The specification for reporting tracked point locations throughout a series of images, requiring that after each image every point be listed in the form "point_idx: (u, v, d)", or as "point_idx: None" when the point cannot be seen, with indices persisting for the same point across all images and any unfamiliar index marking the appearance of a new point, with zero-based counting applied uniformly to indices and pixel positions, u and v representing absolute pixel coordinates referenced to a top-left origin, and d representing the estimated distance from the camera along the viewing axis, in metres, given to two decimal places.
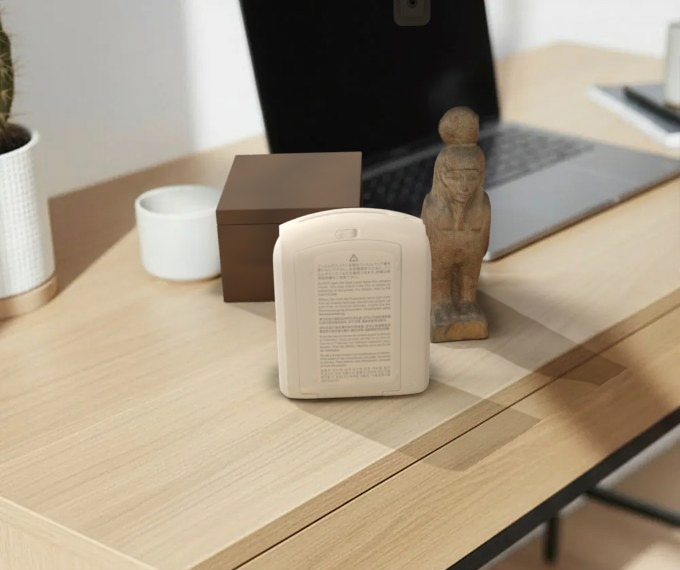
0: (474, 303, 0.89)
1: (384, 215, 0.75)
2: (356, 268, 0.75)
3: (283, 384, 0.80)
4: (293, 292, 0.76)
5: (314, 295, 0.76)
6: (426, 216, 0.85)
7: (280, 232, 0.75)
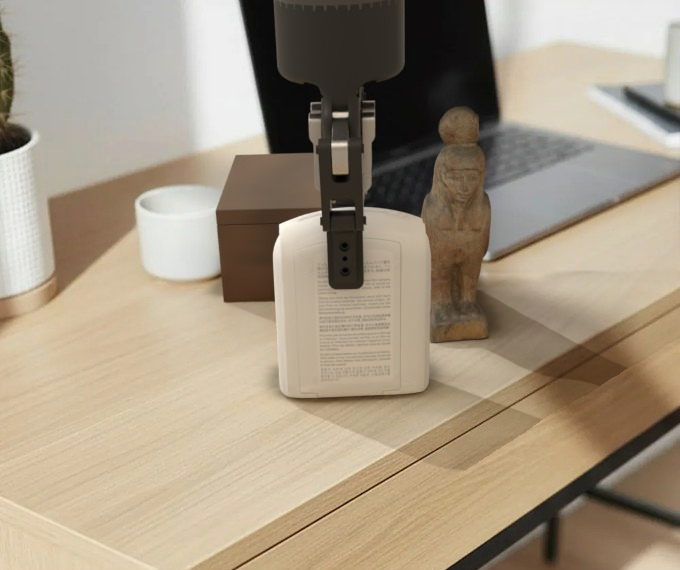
0: (474, 303, 0.89)
1: (384, 214, 0.75)
2: None
3: (283, 383, 0.80)
4: (293, 290, 0.76)
5: (314, 294, 0.76)
6: (426, 216, 0.85)
7: (280, 231, 0.75)
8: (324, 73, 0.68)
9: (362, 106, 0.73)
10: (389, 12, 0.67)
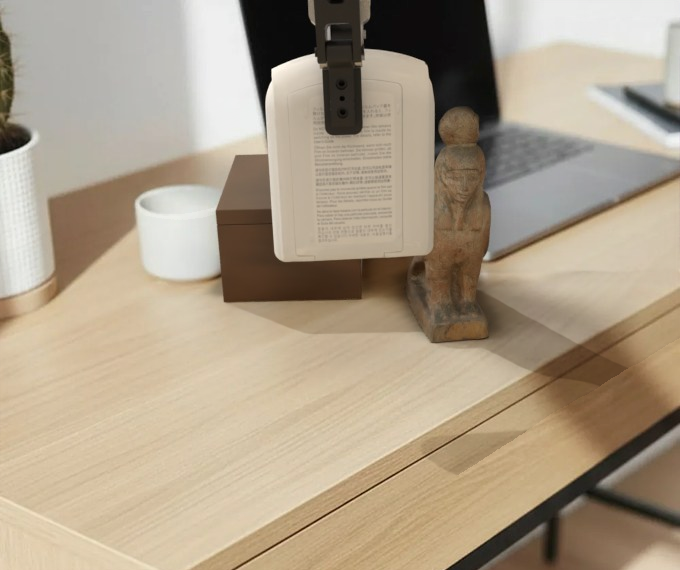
0: (474, 303, 0.89)
1: (383, 54, 0.70)
2: None
3: (278, 247, 0.75)
4: (287, 139, 0.71)
5: (310, 143, 0.71)
6: None
7: (272, 74, 0.70)
8: None
9: None
10: None
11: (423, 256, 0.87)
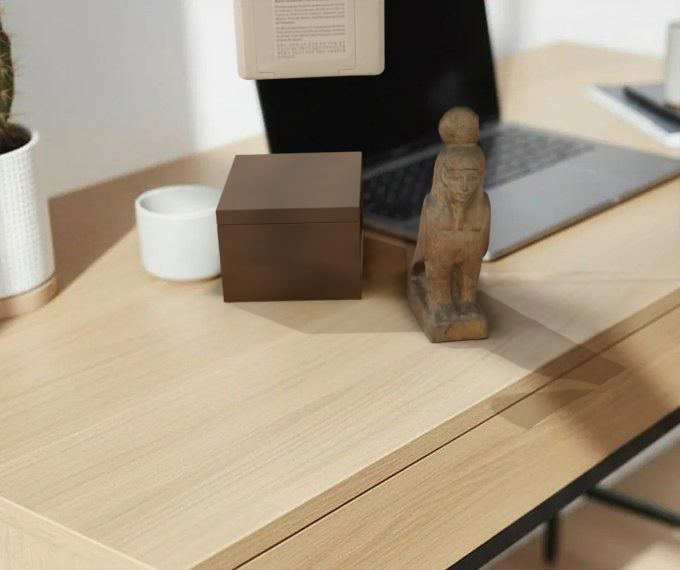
0: (474, 303, 0.89)
1: None
2: None
3: (241, 65, 0.82)
4: None
5: None
6: (426, 216, 0.85)
7: None
8: None
9: None
10: None
11: (423, 256, 0.87)
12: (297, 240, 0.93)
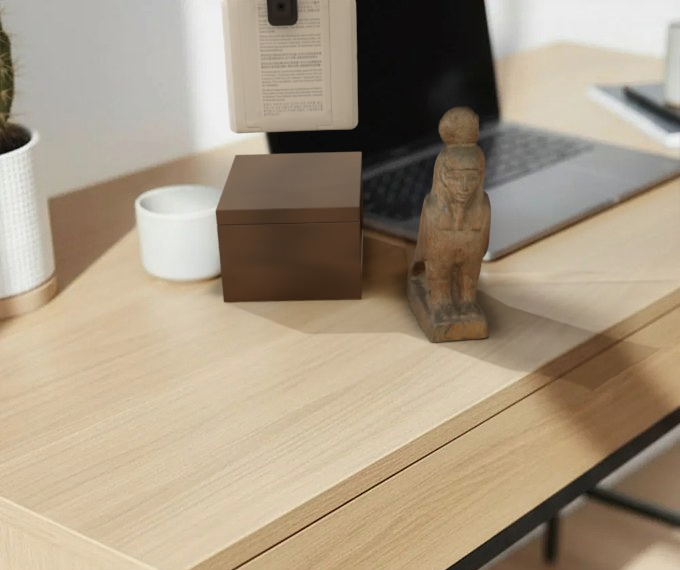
0: (474, 303, 0.89)
1: None
2: None
3: (232, 121, 0.94)
4: (238, 29, 0.90)
5: (256, 32, 0.90)
6: (426, 216, 0.85)
7: None
8: None
9: None
10: None
11: (423, 256, 0.87)
12: (297, 240, 0.93)
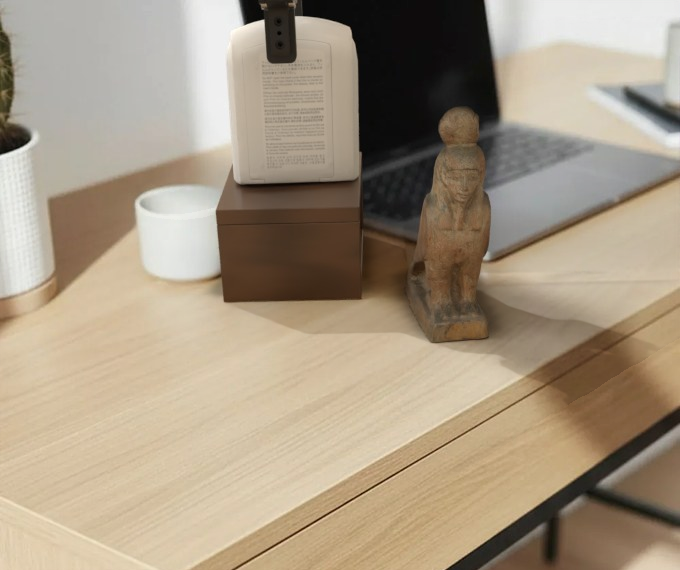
0: (474, 303, 0.89)
1: (317, 20, 0.91)
2: (294, 65, 0.91)
3: (236, 172, 0.96)
4: (242, 86, 0.92)
5: (260, 89, 0.92)
6: (426, 216, 0.85)
7: (231, 34, 0.91)
8: None
9: None
10: None
11: (423, 256, 0.87)
12: (297, 240, 0.93)
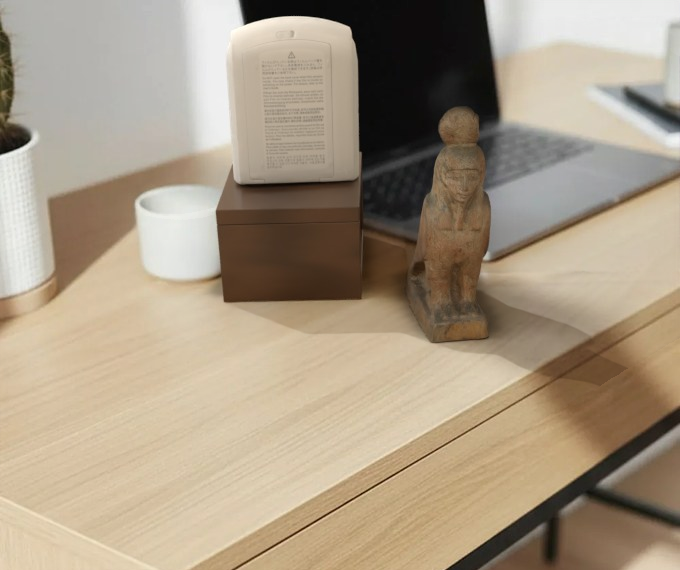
0: (474, 303, 0.89)
1: (317, 20, 0.91)
2: (294, 65, 0.91)
3: (236, 172, 0.96)
4: (242, 86, 0.92)
5: (260, 89, 0.92)
6: (426, 216, 0.85)
7: (231, 34, 0.91)
8: None
9: None
10: None
11: (423, 256, 0.87)
12: (297, 240, 0.93)
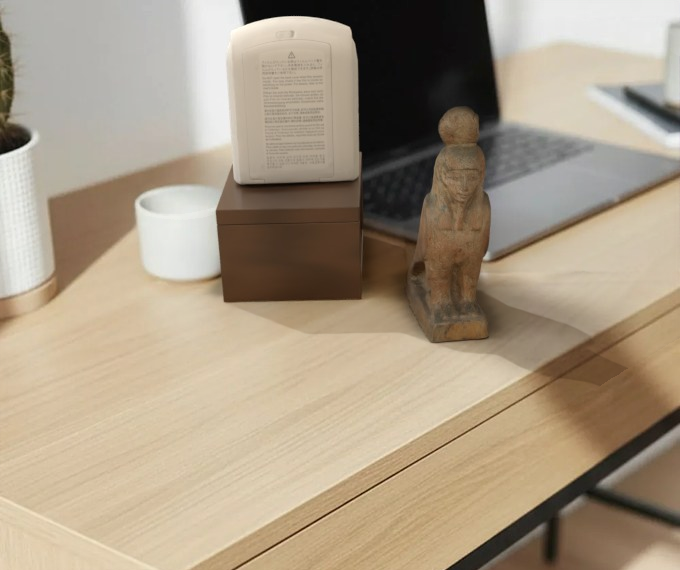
0: (474, 303, 0.89)
1: (317, 20, 0.91)
2: (294, 65, 0.91)
3: (236, 172, 0.96)
4: (242, 86, 0.92)
5: (260, 89, 0.92)
6: (426, 216, 0.85)
7: (231, 34, 0.91)
8: None
9: None
10: None
11: (423, 256, 0.87)
12: (297, 240, 0.93)
